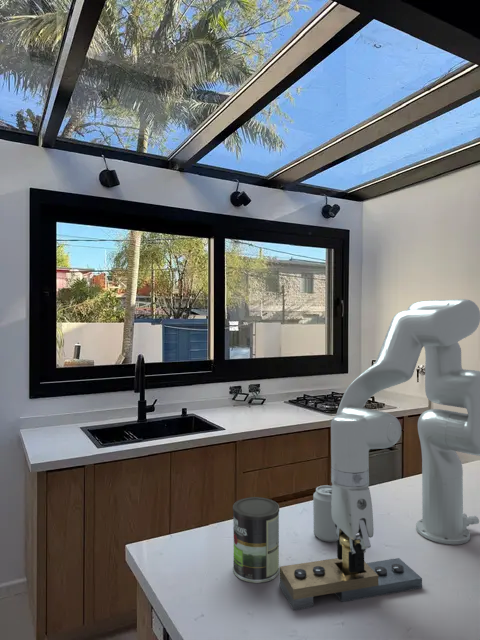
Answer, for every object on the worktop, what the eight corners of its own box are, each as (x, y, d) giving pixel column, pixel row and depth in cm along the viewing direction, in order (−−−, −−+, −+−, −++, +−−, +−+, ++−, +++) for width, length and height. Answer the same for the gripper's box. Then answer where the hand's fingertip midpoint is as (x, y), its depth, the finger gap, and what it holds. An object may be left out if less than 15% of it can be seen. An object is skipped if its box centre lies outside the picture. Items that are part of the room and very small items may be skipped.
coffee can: (244, 588, 91) (244, 519, 91) (226, 563, 101) (225, 501, 101) (288, 576, 95) (287, 511, 95) (266, 553, 105) (266, 493, 105)
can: (344, 544, 109) (343, 495, 109) (313, 542, 110) (312, 493, 110) (343, 530, 116) (342, 484, 116) (314, 528, 117) (313, 482, 117)
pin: (354, 579, 94) (354, 532, 94) (364, 591, 90) (364, 542, 90) (336, 582, 93) (336, 535, 93) (345, 594, 89) (345, 544, 89)
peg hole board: (399, 567, 99) (398, 546, 99) (422, 588, 91) (421, 565, 91) (279, 585, 92) (279, 563, 92) (293, 610, 84) (293, 586, 84)
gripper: (389, 489, 84) (389, 585, 84) (347, 461, 100) (347, 542, 100) (353, 493, 82) (354, 591, 82) (316, 464, 99) (316, 546, 99)
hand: (350, 563), depth 91 cm, fingers open, 4 cm apart
